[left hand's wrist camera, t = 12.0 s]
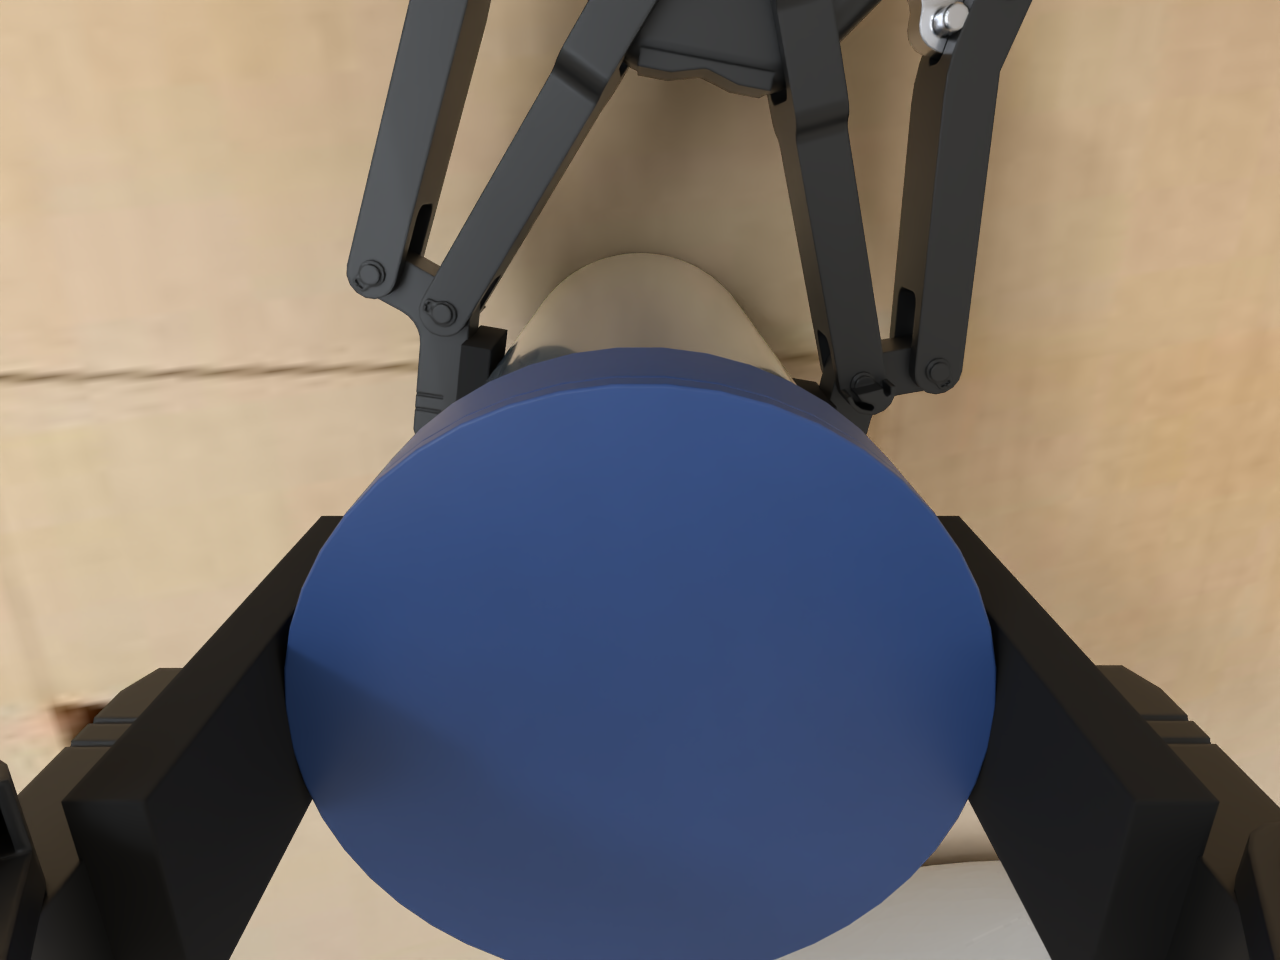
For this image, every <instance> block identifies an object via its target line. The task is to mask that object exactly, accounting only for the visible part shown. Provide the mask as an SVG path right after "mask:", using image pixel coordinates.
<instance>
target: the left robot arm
mask: <svg viewBox="0 0 1280 960" xmlns="http://www.w3.org/2000/svg"><path fill="white" fill-rule="evenodd" d="M937 517H938V519H939V520H940V522H941V523H942V524H943V526H944V527H945V529H946V530H947V532H948V533H949V535H950V536H951V537H952V539H953V540H954V542H955V543H956V545H957V546H958V547H959V549H960V551H961V553H962V555H963V557H964V559H965V561H966V563H967V565H968V567H969V569H970V571H971V573H972V575H973V577H974V579H975V581H976V584H977V586H978V588H979V591H980V594H981V597H982V601H983V604H984V607H985V610H986V614H987V617H988V620H989V624H990V627H991V633H992V641H993V648H994V655H995V663H996V697H995V709H994V715H993V720H992V726H991V731H990V737H989V742H988V748H987V752H986V755H985V758H984V761H983V764H982V767H981V770H980V773H979V776H978V779H977V782H976V784H975V786H974V788H973V790H972V792H971V794H970V796H969V798H968V800H969V802H970V804H971V805H972V807H973V809H974V811H975V813H976V815H977V817H978V819H979V821H980V823H981V825H982V827H983V829H984V831H985V832H986V834H987V836H988V838H989V840H990V842H991V844H992V846H993V848H994V850H995V852H996V854H997V856H998V858H999V859H1000V861H1001V863H1002V865H1003V867H1004V869H1005V871H1006V873H1007V875H1008V877H1009V879H1010V881H1011V883H1012V885H1013V886H1014V888H1015V890H1016V892H1017V894H1018V896H1019V898H1020V900H1021V902H1022V904H1023V906H1024V908H1025V910H1026V912H1027V913H1028V915H1029V917H1030V919H1031V921H1032V923H1033V925H1034V927H1035V929H1036V931H1037V933H1038V935H1039V937H1040V939H1041V940H1042V942H1043V944H1044V946H1045V948H1046V950H1047V952H1048V954H1049V956H1050V958H1051V960H1280V808H1279V807H1278V806H1277V805H1276V804H1275V803H1274V802H1273V801H1272V800H1271V799H1270V798H1269V797H1268V796H1267V795H1266V794H1265V793H1264V792H1263V791H1262V790H1261V789H1260V788H1259V787H1258V786H1257V785H1256V784H1255V783H1254V782H1253V781H1252V780H1251V779H1250V778H1249V777H1248V776H1247V775H1246V774H1245V773H1244V772H1243V771H1242V770H1241V769H1240V768H1239V767H1238V766H1237V765H1236V764H1235V763H1234V762H1233V761H1232V760H1231V759H1230V758H1229V757H1228V756H1227V755H1226V754H1225V753H1224V752H1223V751H1222V750H1221V749H1220V748H1219V747H1218V746H1217V745H1216V744H1211V742H1210V738H1209V736H1208V735H1207V734H1206V733H1205V732H1204V731H1203V730H1202V729H1201V728H1200V727H1199V726H1198V725H1197V724H1196V723H1195V722H1194V721H1188V718H1187V717H1188V715H1187V714H1186V713H1185V712H1184V711H1183V710H1182V709H1181V708H1180V707H1179V706H1178V705H1177V704H1176V703H1175V702H1174V701H1173V700H1172V699H1171V698H1170V697H1169V696H1168V695H1167V694H1166V693H1165V692H1164V691H1163V690H1162V689H1161V688H1159V687H1157V686H1156V685H1154V684H1152V683H1151V682H1149V681H1147V680H1145V679H1144V678H1142V677H1140V676H1139V675H1137V674H1135V673H1134V672H1132V671H1130V670H1129V669H1127V668H1125V667H1124V666H1122V665H1094V664H1093V662H1092V661H1091V660H1090V659H1089V658H1088V657H1087V656H1086V655H1085V654H1084V653H1083V651H1082V650H1081V649H1080V648H1079V647H1078V646H1077V645H1076V644H1075V643H1074V642H1073V641H1072V639H1071V638H1070V637H1069V636H1068V635H1067V634H1066V633H1065V632H1064V631H1063V630H1062V628H1061V627H1060V626H1059V625H1058V624H1057V623H1056V622H1055V621H1054V620H1053V619H1052V618H1051V616H1050V615H1049V614H1048V613H1047V612H1046V611H1045V610H1044V609H1043V608H1042V607H1041V605H1040V604H1039V603H1038V602H1037V601H1036V600H1035V599H1034V598H1033V597H1032V596H1031V595H1030V593H1029V592H1028V591H1027V590H1026V589H1025V588H1024V587H1023V586H1022V585H1021V584H1020V582H1019V581H1018V580H1017V579H1016V578H1015V577H1014V576H1013V575H1012V574H1011V573H1010V572H1009V570H1008V569H1007V568H1006V567H1005V566H1004V565H1003V564H1002V563H1001V562H1000V561H999V559H998V558H997V557H996V556H995V555H994V554H993V553H992V552H991V551H990V550H989V549H988V547H987V546H986V545H985V544H984V543H983V542H982V541H981V540H980V539H979V538H978V536H977V535H976V534H975V533H974V532H973V531H972V530H971V529H970V528H969V527H968V526H967V524H966V523H965V522H964V521H963V520H962V519H961V518H960V517H959V516H937ZM342 518H343V516H321V517H320V518H319V520H318V521H317V522H316V523H315V524H314V525H313V526H312V527H311V528H310V529H309V530H308V532H307V533H306V534H305V535H304V536H303V537H302V538H301V539H300V540H299V541H298V543H297V544H296V545H295V546H294V547H293V548H292V549H291V550H290V551H289V552H288V553H287V555H286V556H285V557H284V558H283V559H282V560H281V561H280V562H279V563H278V564H277V566H276V567H275V568H274V569H273V570H272V571H271V572H270V573H269V574H268V575H267V576H266V578H265V579H264V580H263V581H262V582H261V583H260V584H259V585H258V586H257V587H256V589H255V590H254V591H253V592H252V593H251V594H250V595H249V596H248V597H247V598H246V599H245V601H244V602H243V603H242V604H241V605H240V606H239V607H238V608H237V609H236V610H235V612H234V613H233V614H232V615H231V616H230V617H229V618H228V619H227V620H226V621H225V622H224V624H223V625H222V626H221V627H220V628H219V629H218V630H217V631H216V632H215V633H214V635H213V636H212V637H211V638H210V639H209V640H208V641H207V642H206V643H205V644H204V645H203V647H202V648H201V649H200V650H199V651H198V652H197V653H196V654H195V655H194V656H193V658H192V659H191V660H190V661H189V662H188V663H187V664H186V665H185V666H184V667H183V668H159V669H157V670H155V671H154V672H152V673H150V674H149V675H147V676H145V677H144V678H142V679H140V680H139V681H137V682H135V683H134V684H132V685H130V686H129V687H127V688H125V689H124V690H122V691H120V692H119V693H118V694H117V695H116V696H115V697H114V699H113V700H112V701H111V702H110V703H109V704H108V705H107V706H106V707H105V708H104V709H103V710H102V711H101V712H100V713H99V714H98V715H97V716H96V717H95V718H94V722H93V724H88V725H87V726H86V727H85V728H84V729H83V730H82V731H81V732H80V733H79V734H78V735H77V736H76V737H75V738H74V739H73V740H72V741H71V746H70V747H65V748H64V749H63V750H62V751H61V752H60V753H59V754H58V755H57V756H56V757H55V758H54V759H53V760H52V761H51V762H50V763H49V764H48V765H47V766H46V767H45V768H44V769H43V770H42V771H41V772H40V773H39V774H38V775H37V776H36V777H35V778H34V779H33V780H32V781H31V782H30V783H29V784H28V785H27V786H26V787H25V788H24V789H23V790H22V791H21V792H20V793H19V794H18V795H17V793H16V790H15V787H14V784H13V781H12V778H11V775H10V772H9V769H8V766H7V764H6V763H4V762H2V761H1V760H0V960H229V959H230V957H231V955H232V953H233V951H234V949H235V947H236V945H237V943H238V941H239V939H240V938H241V936H242V934H243V932H244V930H245V928H246V926H247V924H248V922H249V920H250V918H251V916H252V914H253V913H254V911H255V909H256V907H257V905H258V903H259V901H260V899H261V897H262V895H263V893H264V891H265V889H266V887H267V886H268V884H269V882H270V880H271V878H272V876H273V874H274V872H275V870H276V868H277V866H278V864H279V862H280V860H281V859H282V857H283V855H284V853H285V851H286V849H287V847H288V845H289V843H290V841H291V839H292V837H293V835H294V833H295V832H296V830H297V828H298V826H299V824H300V822H301V820H302V818H303V816H304V814H305V812H306V810H307V808H308V806H309V805H310V803H311V801H312V797H311V795H310V793H309V791H308V789H307V787H306V785H305V783H304V780H303V777H302V774H301V771H300V768H299V766H298V763H297V760H296V757H295V754H294V750H293V745H292V739H291V734H290V728H289V723H288V717H287V712H286V706H285V678H284V666H285V659H286V651H287V644H288V636H289V629H290V625H291V622H292V619H293V615H294V612H295V609H296V605H297V602H298V599H299V595H300V592H301V589H302V587H303V585H304V582H305V580H306V578H307V576H308V574H309V572H310V570H311V568H312V566H313V564H314V562H315V560H316V558H317V556H318V554H319V552H320V550H321V548H322V547H323V545H324V544H325V542H326V541H327V539H328V538H329V537H330V535H331V534H332V532H333V531H334V529H335V528H336V527H337V525H338V524H339V522H340V521H341V519H342Z"/></svg>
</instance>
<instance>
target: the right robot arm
mask: <svg viewBox="0 0 1280 960" xmlns="http://www.w3.org/2000/svg"><path fill="white" fill-rule="evenodd" d="M880 1H881V0H588V2H587V4H586V6H585V8H584V10H583V11H582V13H581V15H580V17H579V18H578V20H577V22H576V24H575V25H574V27H573V29H572V31H571V32H570V34H569V36H568V38H567V39H566V41H565V43H564V45H563V47H562V48H561V50H560V53H559V55H558V57H557V59H556V62H555V65H554V68H553V70H552V72H551V74H550V76H549V77H548V79H547V81H546V83H545V84H544V86H543V88H542V90H541V91H540V93H539V95H538V97H537V98H536V100H535V102H534V104H533V105H532V107H531V109H530V111H529V112H528V114H527V116H526V118H525V119H524V121H523V123H522V125H521V126H520V128H519V130H518V132H517V133H516V135H515V137H514V139H513V140H512V142H511V144H510V146H509V147H508V149H507V151H506V153H505V154H504V156H503V158H502V160H501V161H500V163H499V165H498V167H497V168H496V170H495V172H494V173H493V175H492V177H491V179H490V180H489V182H488V184H487V186H486V187H485V189H484V191H483V193H482V194H481V196H480V198H479V200H478V201H477V203H476V205H475V207H474V208H473V210H472V212H471V214H470V215H469V217H468V219H467V221H466V222H465V224H464V226H463V228H462V229H461V231H460V233H459V235H458V236H457V238H456V240H455V242H454V243H453V245H452V247H451V249H450V250H449V252H448V254H447V256H446V257H445V259H444V261H443V263H442V264H441V266H439V265H437V264H435V263H433V262H432V261H430V260H428V259H426V258H424V254H425V250H426V246H427V242H428V239H429V235H430V231H431V227H432V224H433V220H434V216H435V212H436V209H437V205H438V201H439V197H440V194H441V190H442V186H443V182H444V179H445V175H446V171H447V168H448V164H449V160H450V156H451V153H452V149H453V145H454V141H455V138H456V134H457V130H458V126H459V123H460V119H461V115H462V111H463V108H464V104H465V100H466V96H467V93H468V89H469V85H470V81H471V78H472V74H473V70H474V66H475V63H476V59H477V55H478V52H479V48H480V44H481V40H482V37H483V33H484V29H485V25H486V21H487V17H488V12H489V7H490V2H491V0H410V1H409V5H408V9H407V14H406V18H405V22H404V26H403V31H402V35H401V39H400V43H399V48H398V52H397V56H396V60H395V64H394V69H393V73H392V77H391V81H390V86H389V90H388V94H387V98H386V103H385V107H384V111H383V115H382V119H381V124H380V128H379V132H378V136H377V141H376V145H375V149H374V153H373V158H372V162H371V166H370V170H369V175H368V179H367V183H366V187H365V191H364V196H363V200H362V204H361V208H360V213H359V217H358V221H357V225H356V230H355V234H354V238H353V242H352V246H351V251H350V255H349V259H348V263H347V277H348V280H349V283H350V285H351V286H352V288H353V289H354V290H355V291H356V292H357V293H358V294H360V295H362V296H364V297H365V298H371V299H377V298H378V299H380V300H382V301H384V302H385V303H387V304H389V305H391V306H393V307H395V308H396V309H398V310H400V311H402V312H403V313H405V314H406V315H408V316H409V317H410V318H411V320H412V321H413V322H414V323H415V325H416V327H417V329H418V332H419V335H420V353H419V366H418V378H417V391H416V392H417V395H416V404H415V407H416V409H415V417H414V432H415V434H416V433H417V432H418V431H419V430H420V429H421V428H422V427H423V426H425V425H426V424H427V423H428V422H430V421H431V420H432V419H433V418H435V417H436V416H437V415H438V414H440V413H441V412H442V411H444V410H445V409H446V408H447V407H449V406H450V405H451V404H452V403H454V402H456V401H457V400H459V399H461V398H462V397H464V396H466V395H468V394H469V393H471V392H473V391H474V390H476V389H478V388H480V387H481V386H483V385H484V383H485V382H486V381H487V379H488V378H489V377H490V375H491V374H492V372H493V371H494V370H495V368H496V367H497V365H498V364H499V363H500V361H501V360H502V358H503V357H504V356H505V347H506V339H507V330H505V329H499V328H493V327H487V326H482V325H481V326H480V327H479V328H478V325H479V315H480V313H481V312H482V311H483V309H484V308H485V304H486V302H487V301H488V299H489V297H490V296H491V294H492V292H493V291H494V289H495V287H496V286H497V284H498V282H499V281H500V279H501V277H502V276H503V274H504V272H505V271H506V269H507V267H508V266H509V264H510V262H511V261H512V259H513V257H514V256H515V254H516V252H517V251H518V249H519V247H520V246H521V244H522V242H523V241H524V239H525V237H526V236H527V234H528V232H529V231H530V229H531V227H532V226H533V224H534V222H535V221H536V219H537V217H538V216H539V214H540V212H541V211H542V209H543V207H544V206H545V204H546V202H547V201H548V199H549V197H550V196H551V194H552V192H553V191H554V189H555V187H556V186H557V184H558V182H559V181H560V179H561V177H562V176H563V174H564V172H565V171H566V169H567V167H568V166H569V164H570V162H571V161H572V159H573V157H574V156H575V154H576V152H577V151H578V149H579V147H580V146H581V144H582V142H583V141H584V139H585V137H586V136H587V134H588V132H589V131H590V129H591V127H592V126H593V124H594V122H595V121H596V119H597V117H598V116H599V114H600V112H601V111H602V109H603V108H604V106H605V105H606V104H607V102H608V101H609V100H610V98H611V97H612V95H613V93H614V92H615V90H616V88H617V87H618V85H619V83H620V82H621V80H622V78H623V77H624V75H625V73H626V72H627V70H628V68H629V67H630V68H632V69H634V70H636V71H638V75H640V76H645V77H650V78H655V79H661V80H666V81H671V80H681V79H690V78H702V79H704V80H706V81H708V82H710V83H712V84H714V85H716V86H718V87H720V88H722V89H724V90H726V91H728V92H729V93H735V94H740V95H745V96H750V97H756V98H760V97H762V96H764V95H767V96H768V102H769V107H770V112H771V118H772V123H773V127H774V131H775V134H776V136H777V138H778V141H779V145H780V150H781V155H782V160H783V166H784V171H785V177H786V182H787V187H788V193H789V198H790V204H791V209H792V214H793V220H794V225H795V231H796V236H797V242H798V247H799V252H800V258H801V263H802V269H803V274H804V279H805V285H806V290H807V296H808V301H809V306H810V312H811V317H812V323H813V328H814V334H815V339H816V344H817V350H818V355H819V361H820V366H821V370H822V372H823V374H822V378H821V381H820V385H818V384H817V383H816V382H812V381H806V380H800V379H795V378H792V379H793V380H794V382H795V383H796V385H797V386H799V387H801V388H803V389H804V390H806V391H808V392H809V393H811V394H813V395H815V396H816V397H818V398H820V399H821V400H823V401H825V402H826V403H828V404H829V405H831V406H832V407H833V408H834V409H836V410H837V411H838V412H839V413H841V414H842V415H843V416H844V417H846V418H847V419H848V420H850V421H851V422H852V423H853V424H855V425H856V426H857V427H858V428H860V429H861V430H862V431H863V432H864V434H865V435H866V434H867V431H868V427H869V423H870V420H871V417H872V415H875V414H877V413H880V412H882V411H884V410H885V409H886V408H887V407H888V406H889V405H890V404H891V402H892V400H893V398H894V396H896V395H901V394H907V393H913V392H918V391H925V392H927V393H932V394H939V393H944V392H946V391H948V390H949V389H951V388H953V387H954V385H955V384H956V383H957V382H958V380H959V378H960V375H961V372H962V367H963V359H964V351H965V343H966V335H967V327H968V319H969V311H970V304H971V296H972V288H973V280H974V272H975V264H976V256H977V248H978V240H979V232H980V224H981V217H982V209H983V201H984V193H985V185H986V177H987V169H988V161H989V153H990V145H991V138H992V130H993V122H994V114H995V106H996V98H997V90H998V82H999V74H1000V70H1001V68H1002V66H1003V64H1004V61H1005V59H1006V57H1007V55H1008V53H1009V50H1010V48H1011V46H1012V44H1013V41H1014V39H1015V37H1016V35H1017V33H1018V30H1019V28H1020V26H1021V24H1022V22H1023V19H1024V17H1025V15H1026V13H1027V11H1028V8H1029V6H1030V4H1031V2H1032V0H907V1H908V4H909V10H910V17H909V23H908V30H907V32H908V40H909V42H910V45H911V46H912V48H913V49H914V50H915V51H916V52H918V53H919V54H921V55H922V58H921V61H920V63H919V67H918V71H917V75H916V79H915V83H914V89H913V96H912V103H911V113H910V124H909V134H908V145H907V156H906V166H905V177H904V188H903V198H902V209H901V220H900V231H899V241H898V252H897V263H896V273H895V284H894V295H893V305H892V316H891V327H890V337H889V338H888V339H883V340H881V338H880V332H879V325H878V319H877V313H876V306H875V300H874V294H873V287H872V281H871V274H870V268H869V262H868V255H867V249H866V243H865V236H864V230H863V223H862V217H861V211H860V204H859V198H858V192H857V185H856V179H855V172H854V166H853V160H852V153H851V147H850V141H849V134H848V116H849V101H848V93H847V86H846V80H845V73H844V67H843V60H842V54H841V48H840V42H841V41H842V40H843V39H844V38H845V37H846V36H847V35H848V34H849V33H850V32H851V31H852V30H853V29H854V28H855V27H856V26H857V25H858V24H859V23H860V22H861V21H862V20H863V19H864V18H865V17H866V16H867V15H868V14H869V13H870V12H871V11H872V10H873V9H874V8H875V6H876V5H877V4H878V3H879V2H880Z"/></svg>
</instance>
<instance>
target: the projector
mask: <svg viewBox="0 0 1280 960" xmlns="http://www.w3.org/2000/svg"><path fill="white" fill-rule="evenodd" d="M775 960H1051V958H1050V956H1049V954H1048V952H1047V950H1046V948H1045V946H1044V944H1043V942H1042V940H1041V939H1040V937H1039V935H1038V933H1037V931H1036V929H1035V927H1034V925H1033V923H1032V921H1031V919H1030V917H1029V915H1028V913H1027V912H1026V910H1025V908H1024V906H1023V904H1022V902H1021V900H1020V898H1019V896H1018V894H1017V892H1016V890H1015V888H1014V886H1013V885H1012V883H1011V881H1010V879H1009V877H1008V875H1007V873H1006V871H1005V869H1004V867H1003V865H1002V863H1001V861H1000V860H999V861H977V862H963V863H952V864H941V865H931V866H923V867H920V868H919V869H918V870H917V871H916V872H915V873H914V874H913V876H912V877H911V878H910V879H909V880H907V881H906V882H905V883H904V884H903V885H902V886H900V887H899V888H898V889H897V890H896V891H895V892H894V893H892V894H891V895H890V896H889V897H888V898H887V899H885V900H884V901H883V902H882V903H881V904H879V905H878V906H876V907H875V908H873V909H872V910H871V911H869V912H868V913H866V914H865V915H863V916H862V917H860V918H859V919H857V920H856V921H854V922H853V923H852V924H850V925H848V926H847V927H845V928H843V929H841V930H839V931H837V932H835V933H834V934H832V935H830V936H828V937H826V938H824V939H822V940H820V941H819V942H817V943H815V944H813V945H810V946H808V947H805V948H803V949H800V950H798V951H795V952H793V953H791V954H788V955H786V956H783V957H781V958H778V959H775Z"/></svg>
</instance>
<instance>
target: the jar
mask: <svg viewBox="0 0 1280 960" xmlns="http://www.w3.org/2000/svg"><path fill="white" fill-rule="evenodd" d="M626 347H663V348H670V349H678V350H686V351H694V352H701V353H708V354H712V355H716V356H719V357H723V358H727V359H731V360H734V361H738V362H742V363H746V364H749V365H752V366H754V367H757V368H759V369H762V370H764V371H767V372H769V373H771V374H774V375H776V376H779V377H781V378H783V379H786V380H788V381H791V382H792V383H794V384H796V383H795V382H794V380H793V379H792V378H791V376H790V375H789V374H788V372H787V371H786V369H785V368H784V367H783V365H782V364H781V362H780V361H779V360H778V358H777V357H776V356H775V354H774V353H773V351H772V350H771V349H770V347H769V346H768V344H767V343H766V342H765V340H764V339H763V338H762V336H761V335H760V333H759V332H758V331H757V329H756V328H755V327H754V325H753V324H752V322H751V321H750V320H749V318H748V317H747V315H746V314H745V313H744V311H743V310H742V309H741V307H740V306H739V304H738V303H737V302H736V300H735V299H734V297H733V296H732V295H731V294H730V293H729V292H728V291H727V290H726V289H725V288H724V286H723V285H722V284H720V283H719V282H718V281H717V280H715V279H714V278H713V277H712V276H710V275H709V274H708V273H706V272H704V271H703V270H701V269H699V268H698V267H696V266H694V265H692V264H690V263H687V262H685V261H683V260H680V259H677V258H673V257H669V256H666V255H660V254H653V253H627V254H620V255H614V256H610V257H607V258H603V259H600V260H597V261H595V262H593V263H590V264H588V265H586V266H584V267H582V268H581V269H579V270H577V271H576V272H574V273H572V274H571V275H569V276H568V277H567V278H566V279H565V280H563V281H562V282H561V283H560V284H558V285H557V286H556V288H555V289H554V290H553V291H552V292H551V293H550V294H549V295H548V296H547V297H546V299H545V300H544V302H543V303H542V304H541V306H540V307H539V309H538V310H537V311H536V313H535V314H534V315H533V317H532V318H531V320H530V321H529V322H528V324H527V325H526V327H525V328H524V329H523V331H522V332H521V333H520V335H519V336H518V338H517V339H516V340H515V342H514V343H513V345H512V346H511V347H510V349H509V350H508V352H507V353H506V354H505V356H504V357H503V358H502V360H501V361H500V363H499V364H498V365H497V367H496V368H495V370H494V371H493V372H492V374H491V375H490V377H489V378H488V379H487V381H486V382H485V383H484V385H485V384H486V383H488V382H490V381H492V380H495V379H497V378H499V377H502V376H504V375H507V374H509V373H511V372H514V371H516V370H519V369H521V368H523V367H526V366H528V365H531V364H535V363H539V362H542V361H546V360H550V359H554V358H557V357H561V356H565V355H569V354H572V353H579V352H587V351H595V350H602V349H610V348H626Z"/></svg>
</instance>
